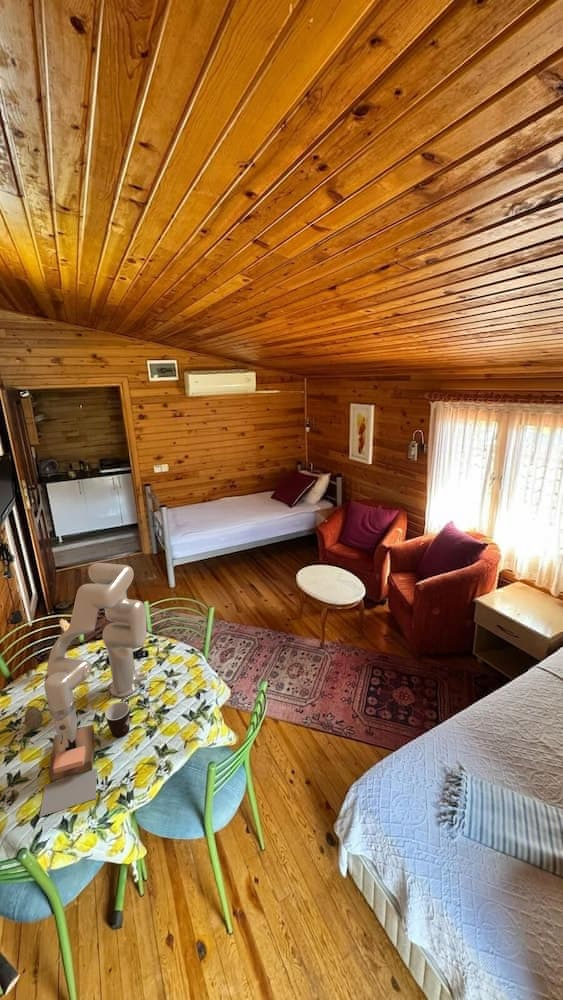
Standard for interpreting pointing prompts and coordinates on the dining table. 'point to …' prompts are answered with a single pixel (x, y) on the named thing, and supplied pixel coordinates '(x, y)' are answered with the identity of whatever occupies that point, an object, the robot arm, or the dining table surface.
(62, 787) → the mat
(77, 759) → the salmon orange flat block
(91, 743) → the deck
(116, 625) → the robot arm
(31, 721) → the decorative egg
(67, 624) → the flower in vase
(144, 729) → the dining table surface
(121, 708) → the coffee mug
